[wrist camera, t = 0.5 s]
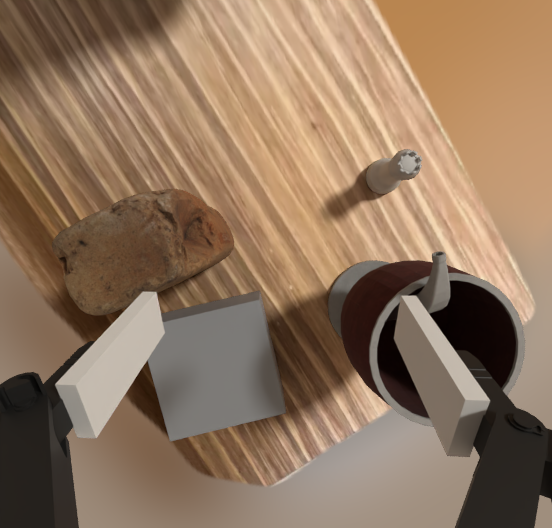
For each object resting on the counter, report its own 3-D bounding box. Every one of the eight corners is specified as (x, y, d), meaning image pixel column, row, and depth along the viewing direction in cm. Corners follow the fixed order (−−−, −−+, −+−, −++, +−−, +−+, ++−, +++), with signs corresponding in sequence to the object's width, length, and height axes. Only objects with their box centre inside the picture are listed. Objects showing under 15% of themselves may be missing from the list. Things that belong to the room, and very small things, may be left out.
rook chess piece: (357, 181, 40) (381, 167, 32) (377, 153, 40) (406, 132, 32) (384, 201, 40) (414, 192, 32) (404, 173, 40) (439, 157, 32)
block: (169, 287, 40) (75, 335, 20) (143, 235, 39) (19, 232, 19) (243, 252, 40) (224, 267, 20) (219, 200, 39) (173, 161, 19)
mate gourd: (433, 335, 42) (586, 423, 22) (339, 367, 42) (407, 485, 22) (402, 229, 41) (536, 220, 21) (304, 262, 40) (345, 285, 21)
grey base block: (157, 314, 40) (138, 328, 34) (259, 290, 40) (259, 299, 35) (183, 412, 41) (170, 441, 36) (282, 388, 42) (286, 413, 36)
